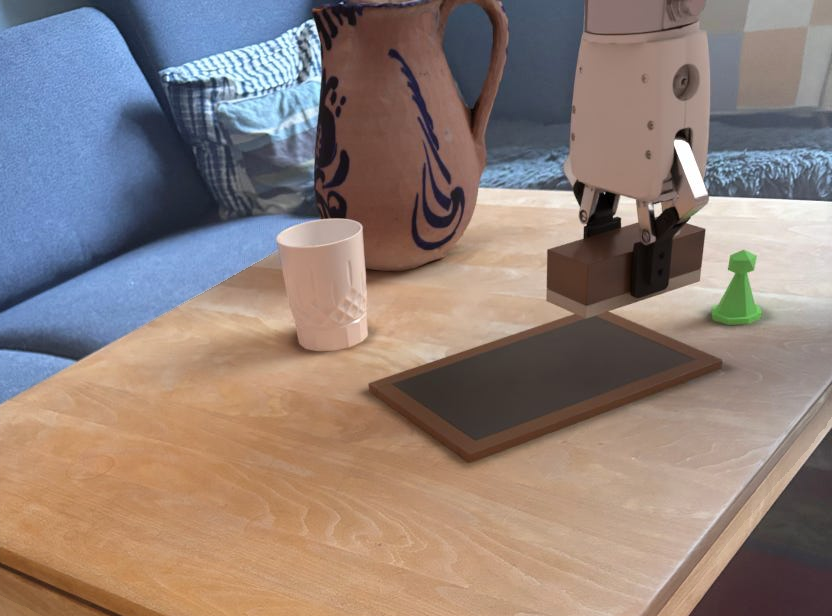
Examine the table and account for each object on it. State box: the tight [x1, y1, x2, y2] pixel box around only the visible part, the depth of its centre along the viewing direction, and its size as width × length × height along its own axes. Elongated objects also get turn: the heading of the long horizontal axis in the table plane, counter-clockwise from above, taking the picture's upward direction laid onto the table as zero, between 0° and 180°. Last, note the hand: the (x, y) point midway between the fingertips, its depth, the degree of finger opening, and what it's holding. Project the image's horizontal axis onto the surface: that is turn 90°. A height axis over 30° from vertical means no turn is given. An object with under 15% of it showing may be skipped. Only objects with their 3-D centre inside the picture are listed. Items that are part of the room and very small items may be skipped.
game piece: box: [710, 249, 763, 326], centre depth 84 cm, size 4×4×6 cm
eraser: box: [545, 216, 707, 319], centre depth 75 cm, size 11×5×4 cm, turn 117°
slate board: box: [368, 311, 723, 464], centre depth 80 cm, size 24×16×1 cm, turn 117°
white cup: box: [275, 219, 369, 352], centre depth 90 cm, size 8×8×10 cm
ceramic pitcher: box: [311, 0, 510, 272], centre depth 102 cm, size 18×21×25 cm
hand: (624, 280), depth 75 cm, fingers closed on eraser, 5 cm apart
